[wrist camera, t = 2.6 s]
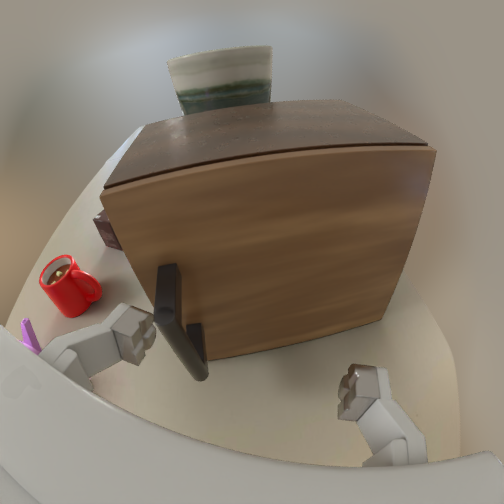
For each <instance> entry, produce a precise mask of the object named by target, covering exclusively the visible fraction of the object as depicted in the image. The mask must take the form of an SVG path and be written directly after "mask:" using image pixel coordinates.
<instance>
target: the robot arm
mask: <svg viewBox="0 0 504 504" xmlns="http://www.w3.org/2000/svg"><path fill="white" fill-rule="evenodd" d="M154 321H155V319H154V315H153V314H152V313H149V312H147V311H144V310H142V309H139V308H136V307H134V306H131V305H129V304H126V303H124V302H123V303H120V304H119V305H118V306H117V307H116V308H115V309H114V310H113V311H112V312H111V313H110V314H109V316H108V317H107V318H106V319H105V320H104V321H103V322H102V323H101V324H99V323H97V324H94V325H91V326H88V327H85V328H82V329H79V330H76V331H73V332H70V333H67V334H64V335H61V336H58V337H55V338H54V339H53V340H52V341H51V342H50V343H49V344H48V345H47V346H46V347H45V348H44V349H43V350H42V351H41V352H40V353H39V355H38V356H37V355H36V354H35V353H33V352H32V351H31V350H30V349H28V348H27V347H26V346H25V345H24V344H22V343H21V342H20V341H19V340H18V339H16V338H15V337H14V336H13V335H12V334H11V333H10V332H8V331H7V330H6V329H5V328H4V327H3V326H2V325H1V324H0V504H504V465H503V464H502V463H501V462H500V460H499V459H498V458H497V457H496V456H495V455H494V454H493V453H492V452H491V451H483V452H479V453H475V454H471V455H467V456H463V457H458V458H453V459H448V460H443V461H437V462H430V463H428V458H427V449H426V440H425V436H424V435H423V434H422V432H421V431H420V430H419V429H418V427H417V426H416V425H415V424H414V422H413V421H412V420H411V419H410V417H409V416H408V415H407V414H406V413H405V411H404V410H403V409H402V408H401V406H400V405H399V404H398V403H397V401H396V400H392V394H391V387H390V381H389V375H388V370H387V368H383V367H374V366H367V365H360V364H351V365H350V367H349V368H348V374H347V375H345V376H343V378H342V380H341V382H340V385H339V390H338V398H339V399H340V400H341V402H340V404H339V405H338V419H340V420H348V421H357V422H356V423H357V425H358V427H359V429H360V430H361V432H362V434H363V436H364V438H365V440H366V442H367V443H368V445H369V447H370V449H371V451H372V453H373V454H374V455H373V456H371V457H370V458H369V459H367V460H366V461H364V462H363V463H362V467H340V466H325V465H314V464H305V463H297V462H289V461H283V460H277V459H271V458H266V457H261V456H256V455H252V454H247V453H243V452H239V451H235V450H231V449H227V448H223V447H220V446H216V445H213V444H210V443H206V442H203V441H200V440H197V439H194V438H191V437H188V436H185V435H183V434H180V433H177V432H175V431H172V430H169V429H167V428H164V427H162V426H159V425H157V424H155V423H152V422H150V421H148V420H145V419H143V418H141V417H139V416H137V415H134V414H132V413H130V412H128V411H126V410H124V409H122V408H120V407H118V406H116V405H114V404H112V403H110V402H109V401H107V400H105V399H103V398H101V397H99V396H98V395H96V394H94V393H92V390H93V385H92V383H91V381H90V380H89V377H91V376H93V375H95V374H97V373H99V372H101V371H102V370H104V369H106V368H108V367H110V366H112V365H114V364H116V363H118V362H119V361H121V359H122V360H124V361H127V362H129V363H132V364H134V365H136V366H139V364H140V363H141V361H142V360H143V359H144V357H145V356H146V355H145V350H148V349H150V348H151V347H152V345H153V343H154V341H155V338H156V328H155V327H154V325H153V322H154Z"/></svg>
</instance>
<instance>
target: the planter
mask: <svg viewBox="0 0 504 504" xmlns="http://www.w3.org/2000/svg"><path fill="white" fill-rule="evenodd" d="M167 65H168V68H169V72H170V75H171V78H172V82H173V85H174V88H175V92H176V95H177V98H178V101H179V104H180V107H181V110H182V113H183V116H185V115H190V114H194V113H200V112H205V111H210V110H216V109H222V108H229V107H236V106H243V105H251V104H260V103H270V101H271V82H272V47H271V46H243V47H233V48H225V49H216V50H210V51H204V52H199V53H193V54H189V55H184V56H180V57H177V58H173V59H170V60H168V61H167Z"/></svg>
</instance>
